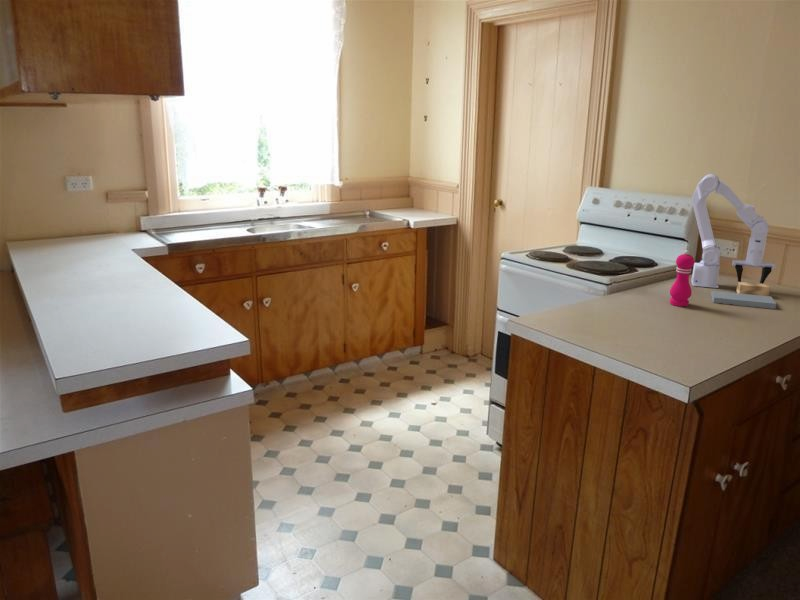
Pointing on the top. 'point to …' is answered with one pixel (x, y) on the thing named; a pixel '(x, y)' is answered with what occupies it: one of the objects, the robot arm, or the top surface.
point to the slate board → (743, 299)
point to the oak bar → (753, 288)
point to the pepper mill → (682, 280)
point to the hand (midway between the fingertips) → (749, 284)
